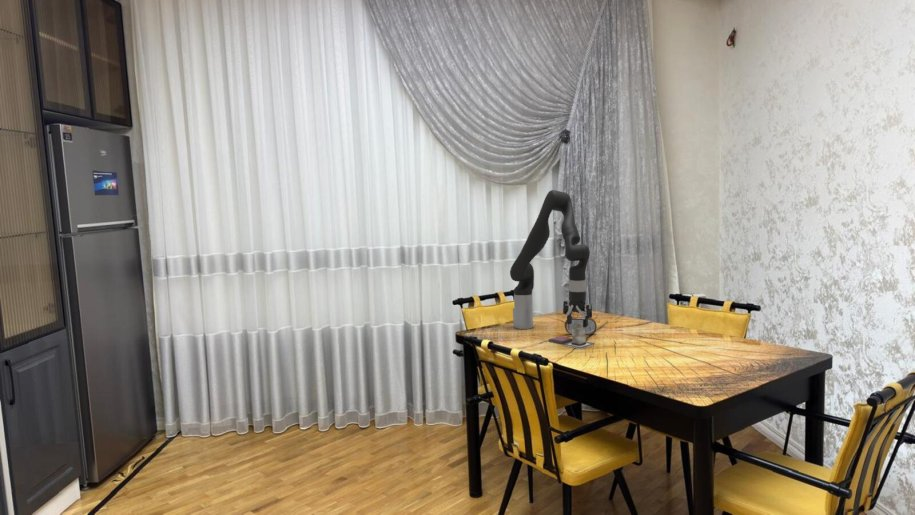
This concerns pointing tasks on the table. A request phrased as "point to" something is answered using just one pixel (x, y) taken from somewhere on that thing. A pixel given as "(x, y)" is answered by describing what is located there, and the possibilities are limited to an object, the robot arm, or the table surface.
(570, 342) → the marked box
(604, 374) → the table surface
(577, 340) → the stamp
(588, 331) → the tin
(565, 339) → the ink pad
